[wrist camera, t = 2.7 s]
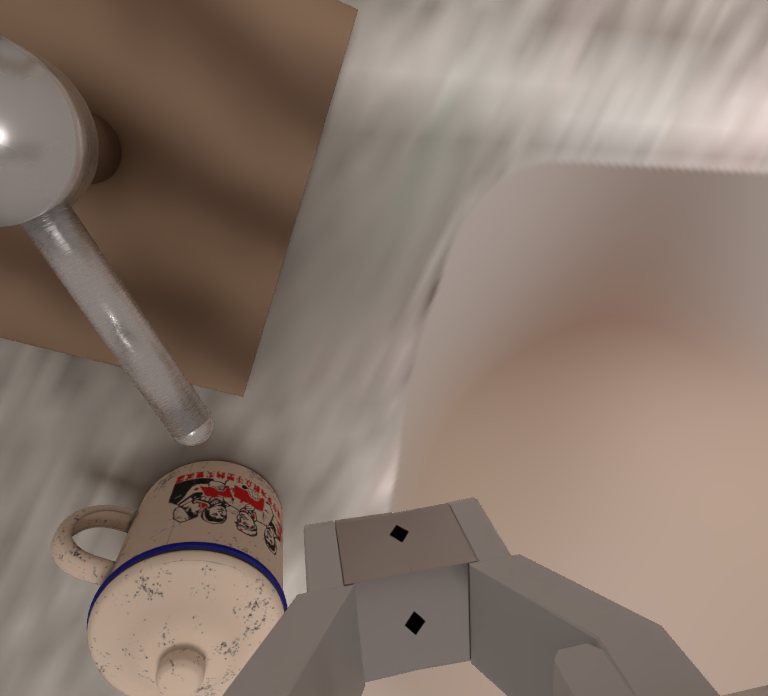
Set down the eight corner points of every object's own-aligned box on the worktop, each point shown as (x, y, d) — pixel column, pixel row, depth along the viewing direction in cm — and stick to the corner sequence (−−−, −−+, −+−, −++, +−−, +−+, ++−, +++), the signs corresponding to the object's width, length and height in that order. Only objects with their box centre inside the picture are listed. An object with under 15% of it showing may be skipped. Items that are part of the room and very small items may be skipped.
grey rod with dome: (268, 396, 22) (266, 423, 20) (146, 459, 22) (128, 495, 20) (-95, -190, 15) (-168, -260, 13) (-277, -102, 15) (-384, -155, 13)
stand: (245, 383, 31) (217, 536, 18) (-163, 281, 26) (-628, 388, 13) (352, 21, 27) (422, -136, 13) (-115, -188, 22) (-756, -777, 8)
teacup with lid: (312, 487, 34) (325, 631, 23) (247, 597, 36) (231, 781, 25) (123, 411, 31) (35, 539, 20) (61, 537, 32) (-53, 721, 21)
